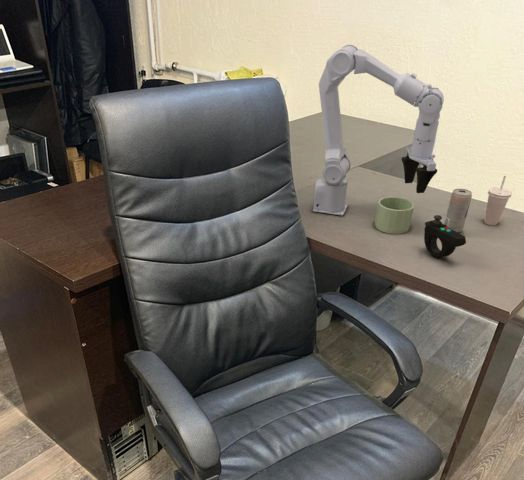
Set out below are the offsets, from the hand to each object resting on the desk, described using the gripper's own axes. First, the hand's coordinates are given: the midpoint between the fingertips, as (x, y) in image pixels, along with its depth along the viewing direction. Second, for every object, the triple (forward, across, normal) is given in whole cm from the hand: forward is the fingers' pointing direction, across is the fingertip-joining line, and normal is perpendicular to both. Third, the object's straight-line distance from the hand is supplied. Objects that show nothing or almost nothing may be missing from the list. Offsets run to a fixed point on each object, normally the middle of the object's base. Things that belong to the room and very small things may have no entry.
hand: (414, 187), depth 151 cm
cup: (+10, -2, +6) cm, 12 cm away
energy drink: (+11, -9, -10) cm, 17 cm away
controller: (+11, -22, +1) cm, 25 cm away
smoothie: (+11, -5, -25) cm, 27 cm away
